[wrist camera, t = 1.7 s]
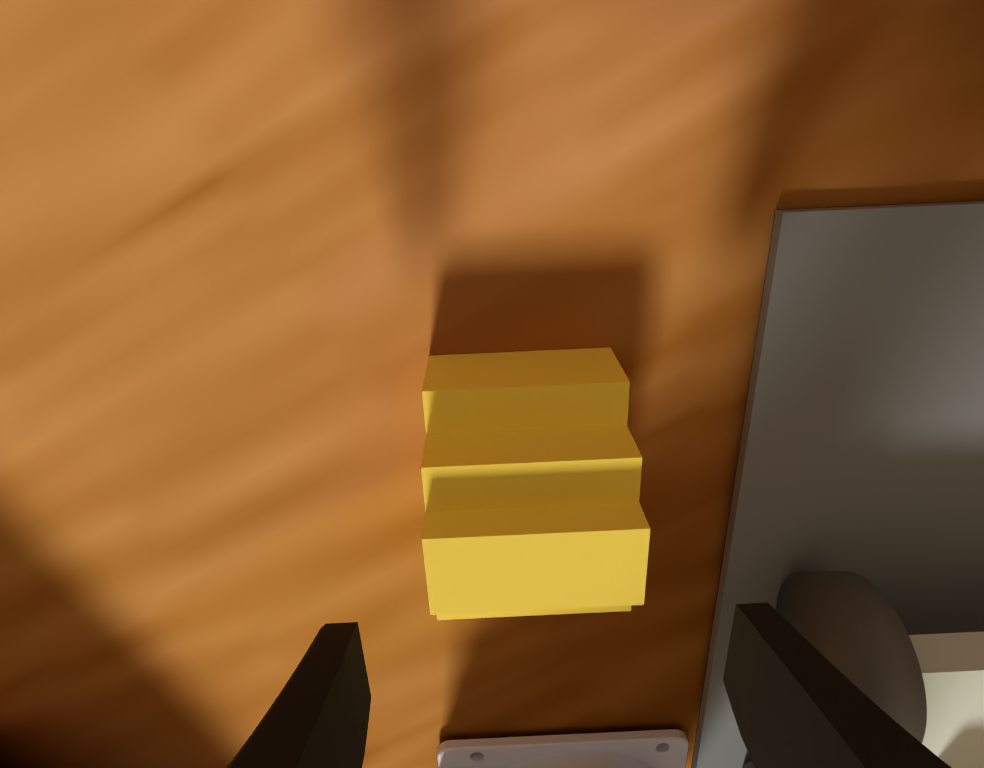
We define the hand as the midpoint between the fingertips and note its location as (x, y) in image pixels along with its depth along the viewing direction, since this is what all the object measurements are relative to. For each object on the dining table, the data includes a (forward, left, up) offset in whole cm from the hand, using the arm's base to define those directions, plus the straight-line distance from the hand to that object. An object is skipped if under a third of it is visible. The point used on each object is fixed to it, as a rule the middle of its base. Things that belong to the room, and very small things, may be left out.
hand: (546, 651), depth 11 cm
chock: (0, 0, -7) cm, 7 cm away
